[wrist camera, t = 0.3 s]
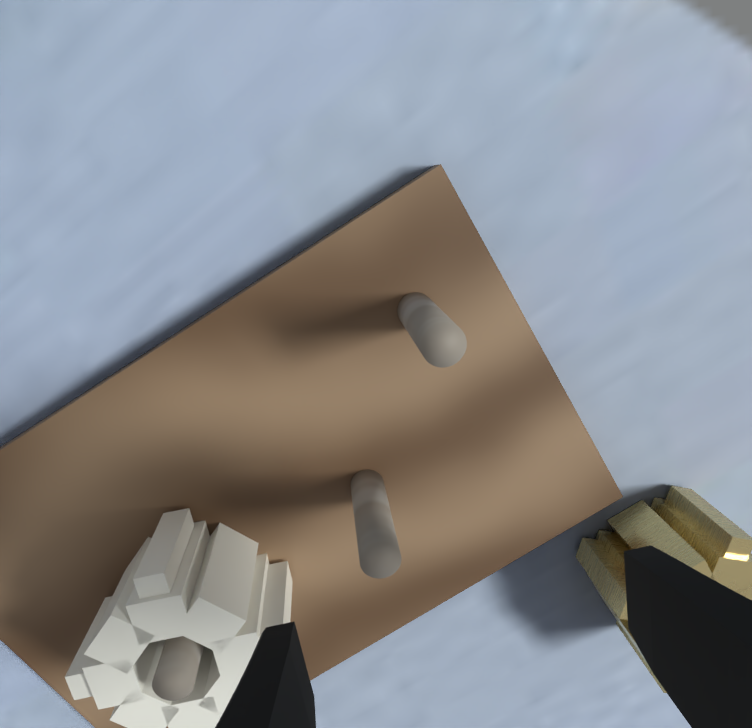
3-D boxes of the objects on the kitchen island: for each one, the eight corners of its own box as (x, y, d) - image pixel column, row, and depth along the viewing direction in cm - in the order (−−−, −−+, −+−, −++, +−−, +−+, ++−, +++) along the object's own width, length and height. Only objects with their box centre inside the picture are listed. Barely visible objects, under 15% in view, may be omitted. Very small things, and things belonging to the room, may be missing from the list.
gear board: (610, 484, 23) (696, 570, 18) (153, 753, 25) (110, 904, 20) (434, 165, 19) (479, 157, 14) (-101, 512, 21) (-241, 622, 15)
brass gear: (728, 567, 25) (803, 636, 21) (619, 629, 25) (673, 708, 22) (682, 475, 23) (753, 530, 20) (566, 542, 24) (614, 610, 20)
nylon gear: (302, 565, 22) (299, 645, 18) (225, 666, 23) (207, 762, 19) (174, 496, 20) (141, 567, 17) (98, 606, 21) (51, 697, 18)
